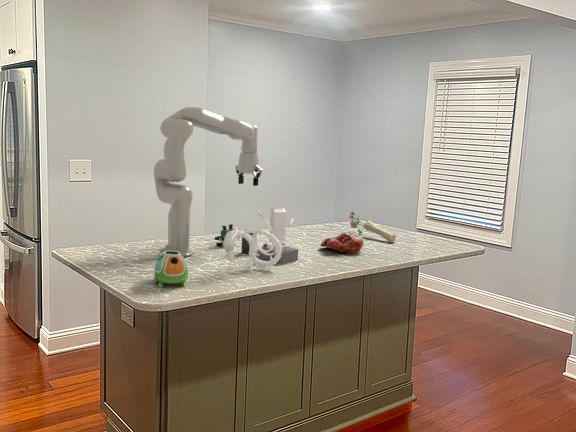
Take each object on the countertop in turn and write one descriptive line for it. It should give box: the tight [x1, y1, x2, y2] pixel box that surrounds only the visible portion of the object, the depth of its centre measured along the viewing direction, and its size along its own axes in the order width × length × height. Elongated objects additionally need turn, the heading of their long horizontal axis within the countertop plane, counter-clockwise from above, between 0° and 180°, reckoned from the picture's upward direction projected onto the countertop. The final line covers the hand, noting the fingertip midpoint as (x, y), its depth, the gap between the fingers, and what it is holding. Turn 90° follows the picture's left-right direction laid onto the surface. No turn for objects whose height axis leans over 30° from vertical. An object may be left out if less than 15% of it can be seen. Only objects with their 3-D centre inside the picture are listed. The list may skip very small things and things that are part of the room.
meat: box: [319, 232, 364, 255], centre depth 279 cm, size 21×21×10 cm
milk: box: [268, 204, 287, 242], centre depth 273 cm, size 6×6×22 cm
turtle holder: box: [153, 251, 189, 288], centre depth 212 cm, size 12×18×12 cm
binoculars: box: [214, 223, 236, 247], centre depth 278 cm, size 9×11×10 cm
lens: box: [241, 230, 254, 256], centre depth 263 cm, size 5×5×10 cm
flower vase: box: [348, 210, 397, 243], centre depth 317 cm, size 12×12×35 cm
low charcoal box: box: [257, 241, 299, 265], centre depth 255 cm, size 11×14×7 cm
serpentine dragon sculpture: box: [221, 208, 295, 273], centre depth 239 cm, size 43×20×25 cm, turn 127°
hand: (248, 184), depth 283 cm, fingers open, 9 cm apart
